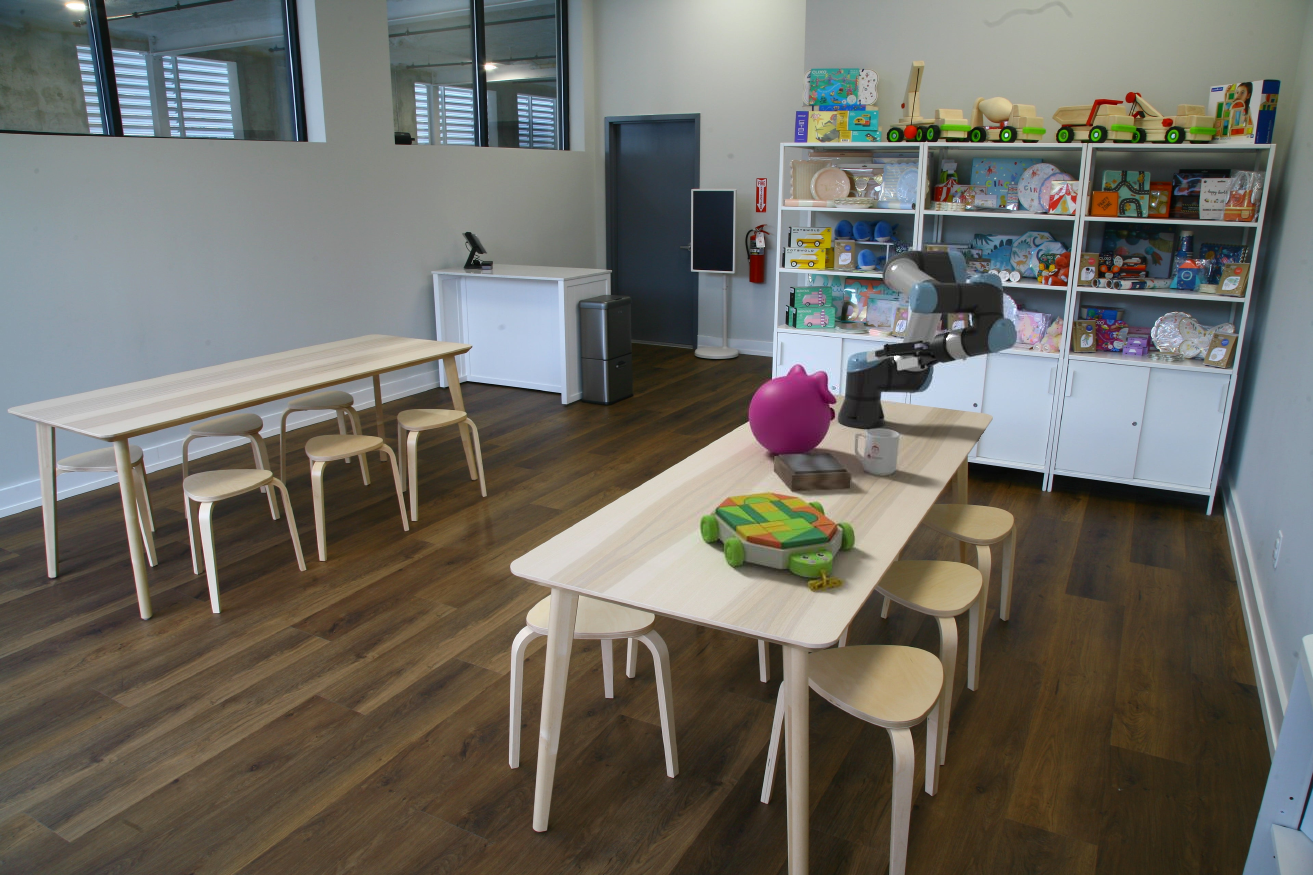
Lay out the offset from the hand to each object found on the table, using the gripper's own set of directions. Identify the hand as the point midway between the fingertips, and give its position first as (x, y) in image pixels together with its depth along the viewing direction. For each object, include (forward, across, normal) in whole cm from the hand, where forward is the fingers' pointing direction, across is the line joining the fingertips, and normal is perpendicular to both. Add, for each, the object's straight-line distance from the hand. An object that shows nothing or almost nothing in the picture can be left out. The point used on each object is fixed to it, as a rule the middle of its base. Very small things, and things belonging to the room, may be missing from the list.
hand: (882, 361), depth 232 cm
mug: (+8, +6, -29) cm, 30 cm away
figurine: (+32, -2, -22) cm, 39 cm away
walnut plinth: (+15, -14, -32) cm, 38 cm away
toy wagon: (-6, -49, -52) cm, 72 cm away
